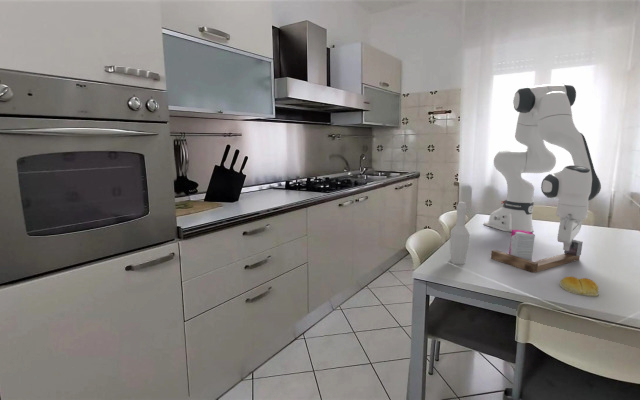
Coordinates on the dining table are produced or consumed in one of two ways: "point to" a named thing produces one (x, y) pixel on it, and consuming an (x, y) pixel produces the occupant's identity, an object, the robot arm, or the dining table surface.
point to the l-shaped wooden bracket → (541, 264)
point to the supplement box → (522, 244)
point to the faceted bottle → (459, 236)
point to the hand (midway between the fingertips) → (566, 249)
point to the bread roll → (579, 286)
